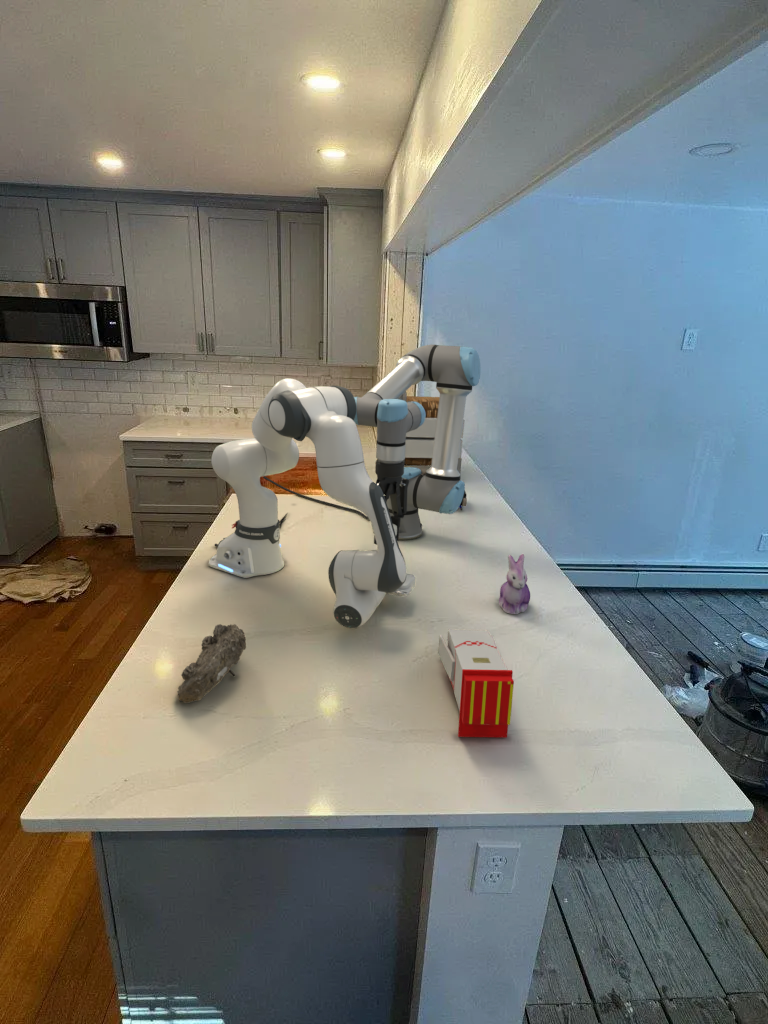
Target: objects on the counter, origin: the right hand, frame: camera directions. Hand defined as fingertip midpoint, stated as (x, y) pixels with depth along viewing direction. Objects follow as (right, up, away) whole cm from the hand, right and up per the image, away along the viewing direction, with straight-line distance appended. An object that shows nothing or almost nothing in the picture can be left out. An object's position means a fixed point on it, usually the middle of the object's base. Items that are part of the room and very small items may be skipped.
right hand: (386, 541), depth 156 cm
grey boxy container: (+17, +27, +119) cm, 124 cm away
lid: (0, +4, -1) cm, 4 cm away
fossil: (-36, -26, -35) cm, 57 cm away
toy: (+17, -30, -37) cm, 50 cm away
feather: (-37, +6, +56) cm, 67 cm away
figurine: (+35, -18, -2) cm, 39 cm away
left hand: (0, -7, +4) cm, 8 cm away
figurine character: (+29, +10, +75) cm, 81 cm away
